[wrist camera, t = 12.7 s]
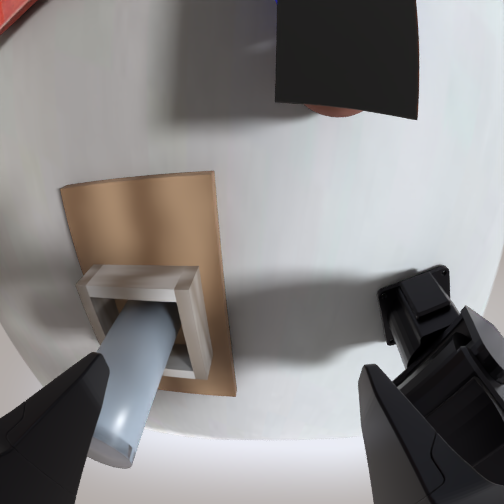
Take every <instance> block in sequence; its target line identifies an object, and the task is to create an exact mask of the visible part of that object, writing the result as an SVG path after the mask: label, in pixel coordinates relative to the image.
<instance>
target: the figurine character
mask: <svg viewBox="0 0 504 504" xmlns="http://www.w3.org/2000/svg"><path fill="white" fill-rule="evenodd" d="M275 1H276V3H277V45H276V84H275V102H278V103H295V104H304V105H305V106H306V107H308V108H309V109H311V110H312V111H314V112H316V113H319V114H321V115H325V116H330V117H347V116H352V115H355V114H358V113H360V112H362V111H368V112H374V113H380V114H386V115H392V116H397V117H402V118H407V119H412V120H417V117H418V99H419V36H418V19H417V7H416V0H275Z"/></svg>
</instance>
